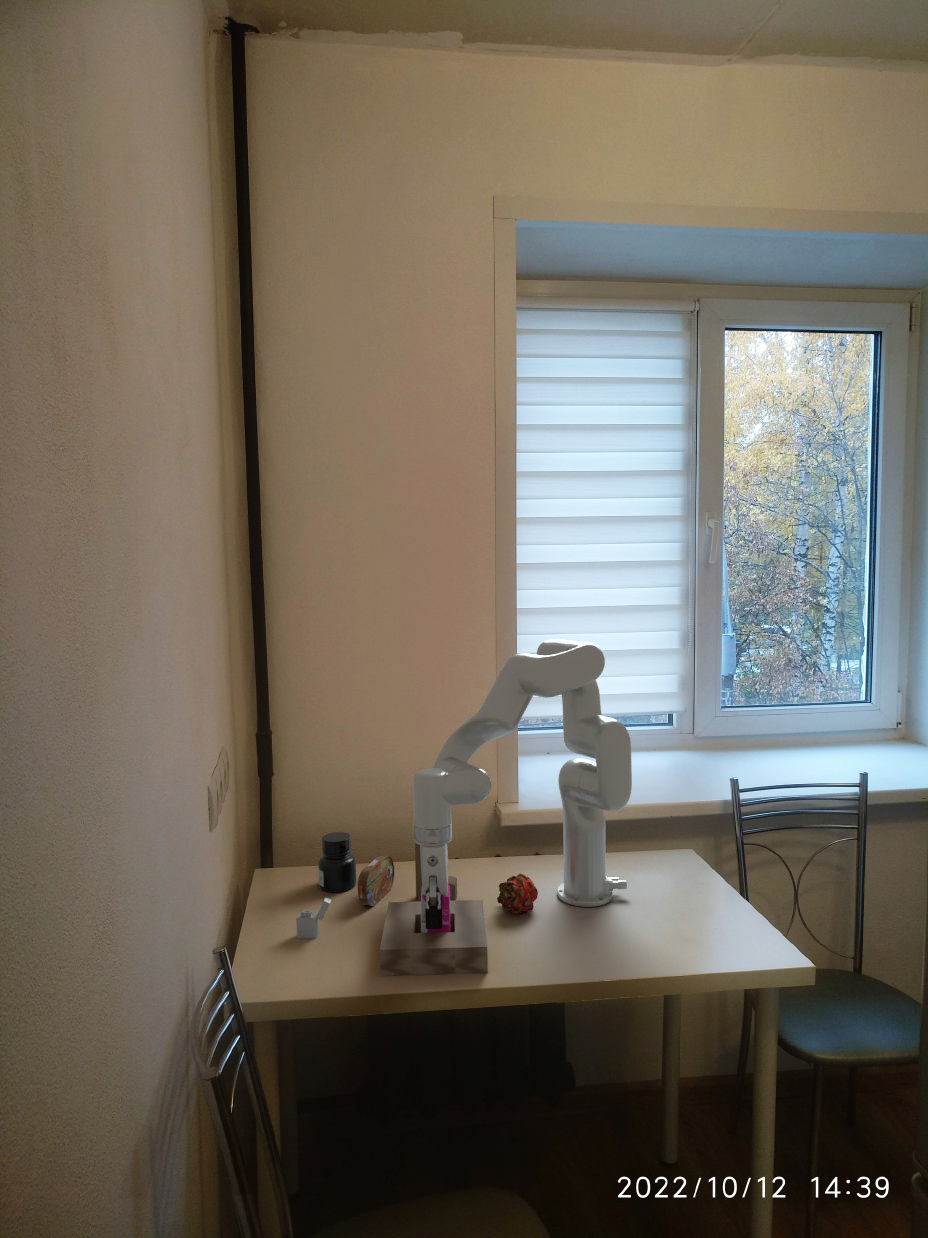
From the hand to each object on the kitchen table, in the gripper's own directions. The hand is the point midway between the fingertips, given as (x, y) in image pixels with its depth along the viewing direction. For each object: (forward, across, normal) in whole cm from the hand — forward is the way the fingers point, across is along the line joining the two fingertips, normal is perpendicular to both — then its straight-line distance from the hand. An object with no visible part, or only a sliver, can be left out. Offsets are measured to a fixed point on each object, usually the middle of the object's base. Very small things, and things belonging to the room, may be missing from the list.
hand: (434, 917), depth 148 cm
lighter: (+6, +6, +25) cm, 27 cm away
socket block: (+6, 0, 0) cm, 6 cm away
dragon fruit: (+7, +16, -18) cm, 25 cm away
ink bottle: (+6, +31, +24) cm, 40 cm away
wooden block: (+6, +22, 0) cm, 23 cm away
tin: (+7, +24, +14) cm, 29 cm away
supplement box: (+6, 0, 0) cm, 6 cm away
